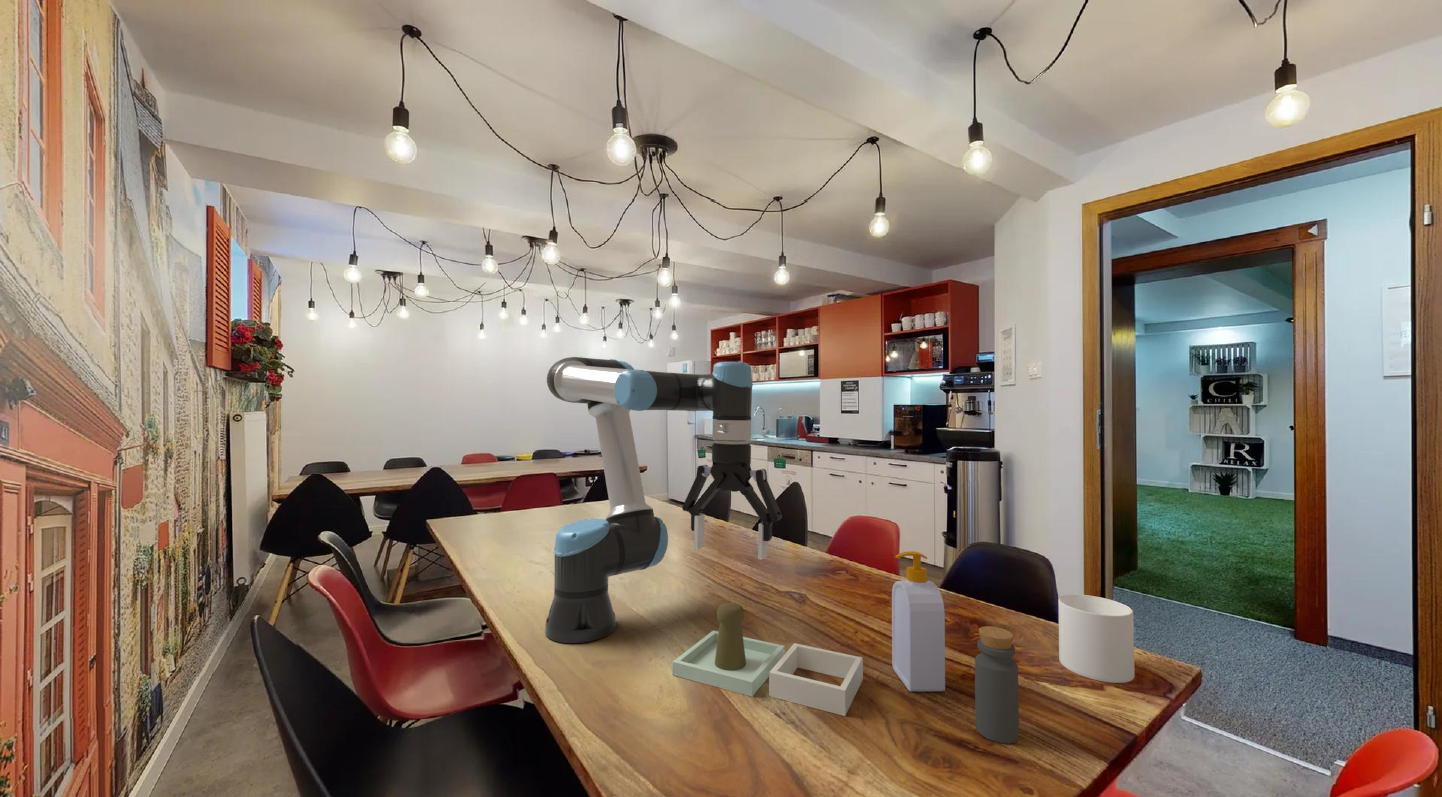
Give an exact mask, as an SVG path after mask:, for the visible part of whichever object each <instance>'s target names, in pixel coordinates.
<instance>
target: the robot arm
mask: <svg viewBox="0 0 1442 797" xmlns="http://www.w3.org/2000/svg"><path fill="white" fill-rule="evenodd" d="M752 372H753V371H752V367H751V365H750V364H749V363H748V362H747V363H746V362H741V361H719V362H716V363H714V364H713V371H712V373H711V374H710V373H709V374H708V373H707V374H695V373H680V372H679V373H678V372H664V371H652V370H644V369H634V367H633V366H632V365H631V364H629V363H628V362H626V361H622V360H618V359H613V358H612V359H611V358H610V359H602V358H601V359H600V358H593V357H592V358H591V357H590V358H589V357H583V356H581V357H579V356H570V357H566V358H562V359H560V360H557V361H556V362H554V364H553V365H552V366H551V367H550V368H549V370H548V372H547V376H546V384H547V387H548V389H549V391H550V393H551V394H552V395H553V396H554V397H555V398H557V399H558V400H560V401H564V402H566V403H573V404H586V405H587V411H588V414H589V415H590V416H591V417H594V419H595V422H596V428H597V434H598V435H597V436H598V441H599V448H600V453H601V460H602V465H603V471H604V477H605V484H606V490H607V496H608V502H609V507H610V508H609V509H610V510H609V513H608V514H607V515H606V517H605V519H604V518H591V519H582V520H577V521H574V522H570V523H568V524H565V525H563V526H561V528H560V529H558V531H557V532H556V534H555V541H554V549H553V553H554V577H553V578H554V579H553V580H554V582H553V583H554V584H553V585H554V586H553V588H554V590H553V591H554V593H553V594H554V595H553V600H552V601H551V605H550V608H549V612H548V616H547V618H546V620H545V624H544V626H545V628H544V630H545V631H544V632H545V636H546V637H547V638H548V639H550V640H552V641H554V642H556V643H561V644H562V643H564V644H580V643H581V644H582V643H588V642H593V641H598V640H599V639H603V638H605V637H607V636H609V635H610V634H612V633H613V632H614V631H615V629H616V625H617V623H616V622H617V620H616V619H617V618H616V617H617V616H616V613H615V611H614V609H613V606H612V601H611V599H610V595H609V578H610V577H613V576H618V575H622V574H627V573H632V572H636V571H643V570H646V569H649V568H652V567H655V566H657V565H658V564H659V563H661V562H662V560H663V559H664V557H665V555H666V553H667V550H668V547H669V546H668V545H669V534H668V529H667V528H668V527H667V525H666V524H665V523H664V522H663V519H661V518H660V517H658V516H655V514H654V508H653V507H652V506H650V505H649V504H647V503H646V499H645V493H644V488H643V482H642V478H641V471H640V465H639V461H638V455H637V450H636V449H637V448H636V444H635V439H634V433H633V427H632V421H631V416H630V412H631V411H638V412H639V411H641V412H642V411H681V412H682V411H685V412H710V411H711V412H712V432H711V433H712V435H711V436H712V438H711V439H712V440H713V441H714V443H713V442H712V443H713V444H712V445H711V462H712V466H709V465H707V464H701V465H698V466H697V468H696V469H697V470H696V477H695V479H694V481H693V483H692V485H691V487H690V489H689V492H688V494H687V496H686V498H685V500H684V502H683V505H682V507H681V508H682V511H684V512H688V513H689V514H690V529H691V532H694V535H693V549H694V550H696V551H698V550H700V549H702V548H704V547H705V513H702V512H703V510H704V509H705V508H706V507H707V505H708V504H709V503H710V501H712V499H713V498H714V497H715V495H716V494H717V493H718V492H719V491H723V492H725V491H730V492H736V493H737V492H740V494H741V495H742V496H744V497H745V500H747V502H748V503H749V504H750V507H751V508H752V509H753V510H754V512H755V513H756V516H758V518H759V519H760V520H761V522H760V523H758V533H757V535H758V536H757V538H758V539H757V560H761V561H762V560H764V559H765V558H767V557H768V542H770V541H771V540H772V539H773V523H776V522H777V521H780V520H781V519H782V518H783V514H782V512H781V509H780V507H779V505H778V503H777V500H776V498H775V496H774V492H773V490H772V489H771V487H770V483H769V481H768V476H767V475H768V474H767V470H766V468H762V469H756V470H755V469H754V470H753V469H752V468H751V464H752V463H751V462H752V460H751V459H752V445H751V443H749V442H750V441H751V440H752V404H753V403H752V400H753V399H752V396H753V395H752V394H753V386H754V384H753V376H752V375H753V374H752ZM710 475H711V477H712V482H711V483H710V484H709V486H708V487H707V489H706V490H705V492H704V493H703V494H702V495H701V497H700V498H699V496H700V494H701V492H702V490H703V487H704V486H705V483H706V481H707V479H708V477H710ZM751 478H752V479H753V480H754V482H756V485H757V487H758V491H759V493H760V496H761V497H762V499H760V496H759V495H758V494H757V492H756V491H755V490H754V486H753V485H752V484H751V482H750V479H751ZM698 498H699V499H698ZM762 500H763V501H762Z"/></svg>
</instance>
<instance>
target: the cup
mask: <svg viewBox="0 0 1442 797" xmlns="http://www.w3.org/2000/svg"><path fill="white" fill-rule="evenodd" d="M1134 626H1135V624H1134V611H1133V610H1132V608H1130V607H1129V606H1127V605H1125V604H1123V603H1121V602H1119V601H1116V600H1113V599H1109V598H1104V597H1100V596H1095V595H1087V594H1074V593H1072V594H1064V595H1062V596H1060V597H1059V598H1058V653H1059V654H1058V656H1059V663H1060V664H1061V665H1062V666H1063V667H1064V668H1066V669H1067V670H1068V671H1070V672H1073V673H1074V674H1076V675H1079V676H1081V677H1083V678H1087V679H1091V680H1094V681H1099V682H1102V683H1103V682H1104V683H1108V684H1109V683H1111V684H1124V683H1129V682H1132V681H1133V680H1134V679H1135V633H1134V630H1135V628H1134Z"/></svg>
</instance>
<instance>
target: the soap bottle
mask: <svg viewBox="0 0 1442 797" xmlns="http://www.w3.org/2000/svg"><path fill="white" fill-rule="evenodd" d="M911 556H912V566H907V567H906V580H897V581H895V582H894V583H893V585H892V589H891V591H892V592H891V652H892V653H891V661H892V662H891V664H892V666H891V667H892V670H893V671H894V672H895V674H896V675H897V676H898V677H899V680H900V681H901V682H902V684H903V685H904V686H905V687H906V688H907V690H908V691H909V692H945V691H946V690H945V689H946V644H945V643H946V640H945V638H946V636H945V635H946V627H945V626H946V625H945V621H946V620H945V619H946V618H945V616H946V615H945V604H944V603H945V602H944V600H943V597H942V593H941V592H940V590H939V588H938V587H939V586H937V585H936V583H934V581H931V580H928V569H927V568H925V567H923V566H921V564H922V562H921V561H922V560H921V558H923V559H925V560H928V557H927V556H926V555H924V554H922V553H921V552H918V551H915V550H913V551H912V550H911V551H902V552H900V553H898V554H896V555H895V558H896V559H900V558H904V557H911Z"/></svg>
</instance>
